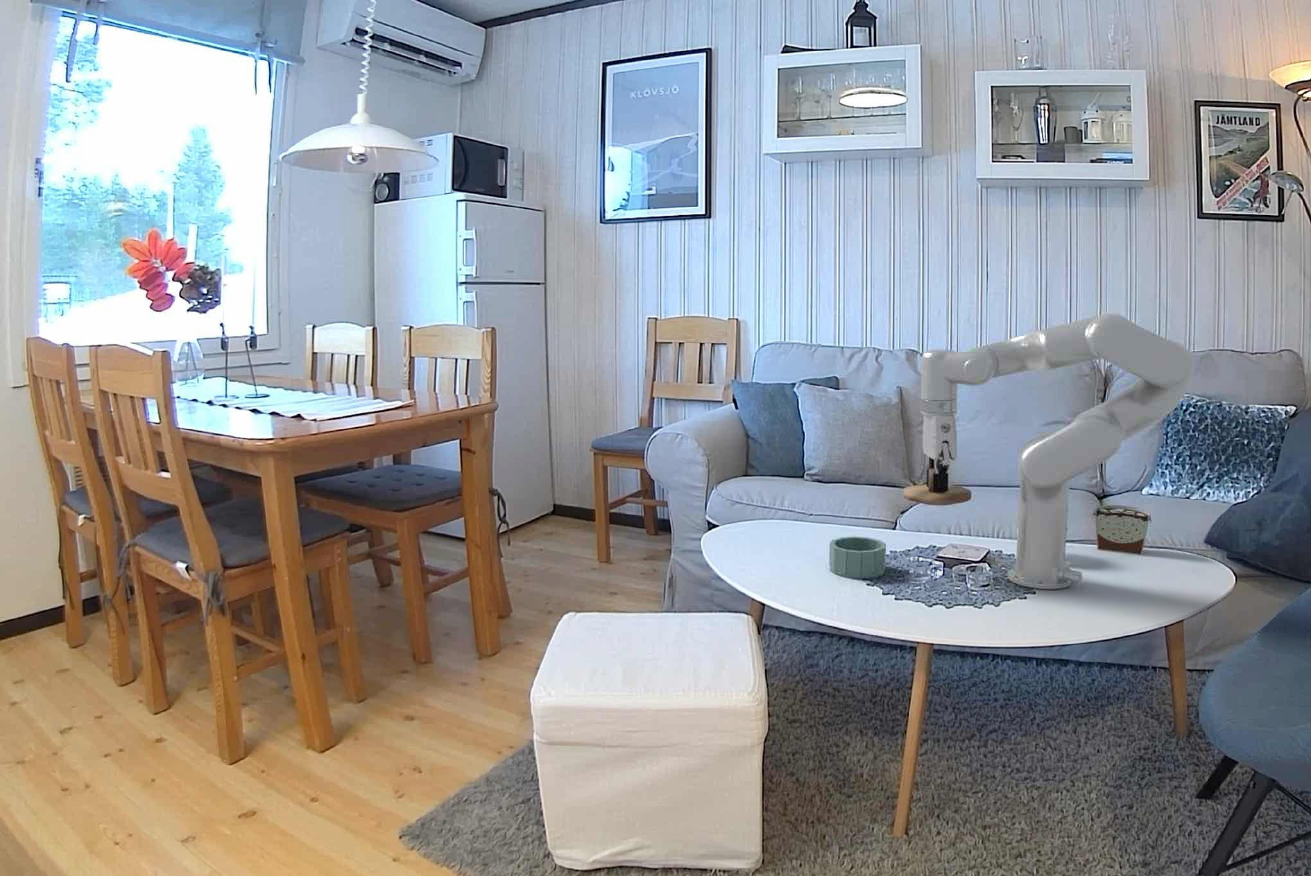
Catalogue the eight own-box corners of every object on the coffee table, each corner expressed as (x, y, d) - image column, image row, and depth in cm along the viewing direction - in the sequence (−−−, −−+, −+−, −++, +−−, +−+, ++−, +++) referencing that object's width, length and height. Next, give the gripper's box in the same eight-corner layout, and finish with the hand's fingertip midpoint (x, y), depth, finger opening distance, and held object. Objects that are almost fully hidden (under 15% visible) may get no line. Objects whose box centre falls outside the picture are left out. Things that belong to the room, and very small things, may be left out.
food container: (1151, 549, 215) (1154, 508, 214) (1149, 556, 210) (1152, 514, 209) (1094, 542, 222) (1096, 502, 220) (1090, 549, 217) (1092, 508, 215)
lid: (984, 500, 201) (984, 469, 200) (947, 512, 192) (948, 479, 191) (927, 490, 212) (927, 460, 211) (889, 501, 203) (890, 470, 202)
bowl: (895, 570, 204) (896, 544, 203) (862, 582, 197) (863, 555, 196) (852, 558, 213) (852, 533, 212) (818, 569, 206) (819, 544, 205)
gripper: (969, 411, 190) (966, 497, 193) (944, 401, 207) (942, 480, 210) (933, 412, 190) (931, 498, 193) (910, 402, 207) (909, 481, 210)
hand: (937, 488), depth 202 cm, fingers closed on lid, 3 cm apart
